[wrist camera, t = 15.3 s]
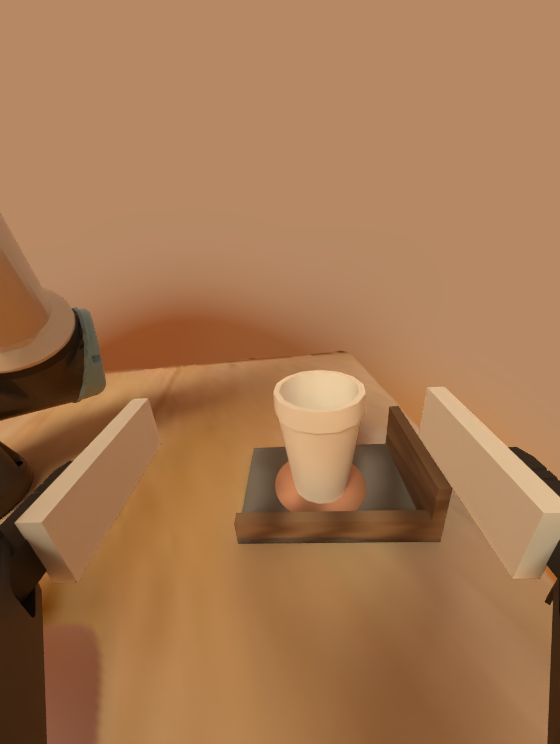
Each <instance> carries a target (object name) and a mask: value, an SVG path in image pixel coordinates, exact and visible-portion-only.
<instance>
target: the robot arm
mask: <svg viewBox="0 0 560 744" xmlns="http://www.w3.org/2000/svg"><path fill="white" fill-rule="evenodd" d="M105 386H106V379H105V373H104V369H103V364H102V360H101V356H100V351H99V345H98V340H97V336H96V333H95V328H94V324H93V321H92V317H91V314H90V312H89V311H88V310H86V309H78V308H71V307H70V306H69V304H68V303H67V301H66V300H64V298H62V297H61V296H60V295H58V294H56V293H55V292H53V291H51V290H48V289H46V288H42V286H41V285H40V283H39V281H38V279H37V277H36V276H35V274H34V272H33V270H32V269H31V267H30V265H29V263H28V261H27V259H26V258H25V256H24V254H23V252H22V251H21V249H20V247H19V245H18V243H17V242H16V240H15V238H14V236H13V235H12V233H11V231H10V229H9V227H8V226H7V224H6V222H5V220H4V218H3V217H2V215H1V213H0V421H1V420H5V419H9V418H13V417H17V416H21V415H24V414H28V413H32V412H36V411H40V410H44V409H48V408H51V407H55V406H59V405H63V404H67V403H71V402H73V403H77V402H80V401H81V400H82V399H85V398H89V397H92V396H95V395H98V394H100V393H101V392H102V391H103V390H104V389H105ZM419 437H420V439H421V440H422V442H423V444H424V445H425V447H426V448H427V450H428V451H429V453H430V454H431V456H432V457H433V459H434V460H435V462H436V463H437V465H438V466H439V468H440V469H441V471H442V472H443V474H444V475H445V477H446V479H447V480H448V482H449V483H450V485H451V486H452V488H453V489H454V491H455V492H456V494H457V495H458V497H459V498H460V500H461V501H462V503H463V504H464V506H465V507H466V509H467V510H468V512H469V514H470V515H471V517H472V518H473V520H474V521H475V523H476V524H477V526H478V527H479V529H480V530H481V532H482V533H483V535H484V536H485V538H486V539H487V541H488V542H489V544H490V545H491V547H492V549H493V550H494V552H495V553H496V555H497V556H498V558H499V559H500V561H501V562H502V564H503V565H504V567H505V568H506V570H507V571H508V573H509V574H510V576H511V577H512V579H540V578H541V576H542V574H543V572H544V570H545V568H546V566H548V567H549V568H550V570H551V571H552V572H553V573H554V575H555V576H556V577H557V578H558V579H557V581H556V582H555V584H554V586H553V587H552V589H551V591H550V592H549V594H548V596H547V598H546V600H545V603H547V604H549V605H550V604H551V602H552V601H553V619H552V644H551V669H550V693H549V718H548V743H547V744H560V481H558V479H557V477H556V476H555V475H553V474H552V473H551V472H550V471H547V469H546V467H545V466H543V465H542V464H541V463H540V462H539V461H538V460H536V458H534V457H533V456H531V455H530V454H528V453H526V452H524V451H523V450H521V449H519V448H517V447H507V446H506V445H505V444H504V443H503V442H502V441H501V440H499V439H498V438H497V437H496V436H495V435H494V434H493V433H492V432H491V431H490V430H489V429H488V428H487V427H486V426H485V425H484V424H483V423H482V422H481V421H480V420H479V419H477V417H475V416H474V415H473V414H472V413H471V412H470V411H469V410H468V409H467V408H466V407H465V406H464V405H463V404H462V403H461V402H460V401H459V400H458V399H457V398H456V397H455V396H454V395H452V394H451V393H450V392H449V391H448V390H447V389H446V388H445V387H428V388H427V392H426V398H425V403H424V409H423V414H422V420H421V425H420V431H419ZM161 444H162V443H161V440H160V436H159V433H158V430H157V426H156V423H155V419H154V416H153V412H152V409H151V406H150V402H149V399H148V398H142V399H132V400H131V401H130V402H129V403H128V404H127V405H126V407H125V408H124V409H123V410H122V411H121V412H120V413H119V414H118V415H117V416H116V417H115V418H114V419H113V420H112V421H111V422H110V423H109V424H108V425H107V426H106V427H105V429H104V430H103V431H102V432H101V433H100V434H99V435H98V436H97V437H96V438H95V439H94V440H93V441H92V442H91V443H90V444H89V445H88V446H87V447H86V448H85V449H84V450H83V452H82V453H81V454H80V455H79V456H78V457H77V458H76V459H75V460H74V461H68V462H67V463H65V464H64V465H62V466H61V467H59V468H58V469H56V470H55V471H54V472H53V473H52V474H51V475H50V476H49V477H48V478H47V479H46V480H45V481H44V482H43V484H41V485H40V486H39V487H38V488H37V489H36V490H35V491H34V493H33V494H31V495H30V496H29V497H28V498H27V499H26V500H25V501H24V502H23V503H22V504H21V505H20V506H19V507H18V508H17V509H16V510H15V511H14V512H13V513H12V514H11V515H10V516H9V517H8V518H7V519H6V520H5V521H4V522H3V523H2V524H1V525H0V744H47V735H46V705H45V677H44V676H45V675H44V647H43V617H42V590H41V588H40V585H39V584H38V582H39V581H40V579H41V578H42V576H43V575H44V574H45V572H47V573H48V575H49V576H50V578H51V579H52V581H53V582H54V583H77V582H78V581H79V579H80V578H81V576H82V574H83V573H84V571H85V569H86V568H87V566H88V564H89V563H90V561H91V559H92V558H93V556H94V555H95V553H96V551H97V550H98V548H99V546H100V545H101V543H102V541H103V540H104V538H105V536H106V535H107V533H108V531H109V530H110V528H111V527H112V525H113V523H114V522H115V520H116V518H117V517H118V515H119V513H120V512H121V510H122V508H123V507H124V505H125V504H126V502H127V500H128V499H129V497H130V495H131V494H132V492H133V490H134V489H135V487H136V485H137V484H138V482H139V480H140V479H141V477H142V476H143V474H144V472H145V471H146V469H147V467H148V466H149V464H150V462H151V461H152V459H153V457H154V456H155V454H156V453H157V451H158V449H159V448H160V446H161ZM32 481H33V473H32V471H31V469H30V467H29V466H28V464H27V462H26V461H25V459H24V458H22V457H21V456H20V455H18V454H17V453H16V452H14V451H13V450H12V449H10V448H9V447H8V446H6V445H5V444H3V443H2V442H1V441H0V517H2V516H3V515H4V514H5V513H7V512H8V511H9V510H10V509H11V508H12V507H14V506H15V505H16V504H17V503H18V502H19V501H20V500H21V499H22V497H23V496H24V495H25V494H26V492H27V491H28V489H29V488H30V486H31V484H32Z"/></svg>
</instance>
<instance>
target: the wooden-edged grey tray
mask: <svg viewBox="0 0 560 744" xmlns="http://www.w3.org/2000/svg"><path fill="white" fill-rule="evenodd" d="M451 492H452V487H451V486H450V484H449V483H448V481H447V480H446V478H445V477H444V475H443V474H442V472H441V471H440V469H439V468H438V466H437V464H436V463H435V461H434V460H433V458H432V457H431V455H430V454H429V452H428V451H427V449H426V448H425V446H424V445H423V443H422V441H421V440H420V438H419V437H418V435H417V434H416V432H415V431H414V429H413V428H412V426H411V425H410V423H409V422H408V420H407V418H406V417H405V415H404V414H403V412H402V411H401V409H400V408H399V406H392V407H389V415H388V426H387V436H386V444H370V445H356V447H355V451H354V456H353V461H352V466H351V470H350V475H349V480H348V484H347V486H346V490H345V492H344V494H343V495H342V497H341V498H339V499H337V500H335V501H334V502H332V503H323V504H318V503H314V502H310V501H307V500H306V499H305V498H303V497H302V496H301V495H299V494H298V492H297V489H296V487H295V484H294V481H293V477H292V473H291V469H290V465H289V460H288V456H287V452H286V448H285V447H274V448H254V451H253V457H252V462H251V467H250V473H249V478H248V484H247V489H246V494H245V500H244V505H243V510H242V513H236V518H235V523H234V524H235V529H236V534H237V540H238V544H249V543H351V542H440V540H441V536H442V531H443V527H444V523H445V518H446V514H447V510H448V505H449V501H450V497H451Z"/></svg>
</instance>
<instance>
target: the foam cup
mask: <svg viewBox="0 0 560 744" xmlns="http://www.w3.org/2000/svg"><path fill="white" fill-rule="evenodd" d="M273 396H274V407H275V413H276V415H277V417H278V419H279V423H280V427H281V431H282V435H283V440H284V444H285V448H286V452H287V456H288V460H289V465H290V469H291V473H292V477H293V481H294V484H295V487H296V489H297V492H298V494H299V495H301V496H302V497H303V498H305V499H306V500H307V501H310V502H314V503H318V504H323V503H332V502H334V501H335V500H337V499H339V498H341V497H342V495H343V494H344V492H345V490H346V486H347V484H348V480H349V475H350V470H351V466H352V461H353V456H354V451H355V447H356V442H357V437H358V432H359V428H360V423H361V418H362V417H363V415H364V412H365V389H364V385H363V384H362V383H361V382H360V381H358V380H357V379H356V378H355V377H353V376H350V375H347V374H344V373H341V372H336V371H325V370H315V371H304V372H300V373H296V374H293V375H290V376H287V377H285V378H284V379H282V380H281V381H280V382H278V383H277V384H276V386H275V389H274V392H273Z"/></svg>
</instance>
